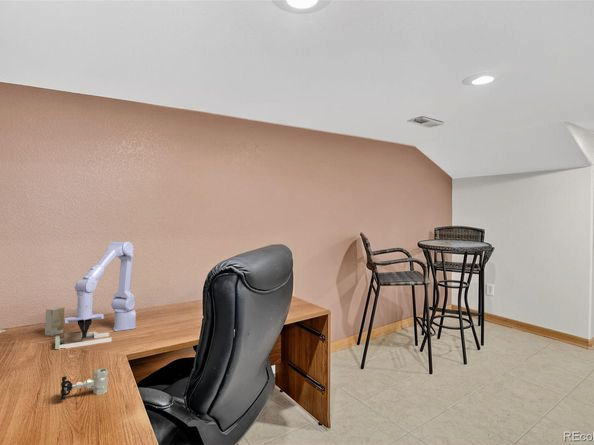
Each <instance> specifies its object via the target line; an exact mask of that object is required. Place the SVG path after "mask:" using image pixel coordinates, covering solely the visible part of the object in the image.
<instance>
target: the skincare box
mask: <svg viewBox="0 0 594 445" xmlns="http://www.w3.org/2000/svg"><path fill="white" fill-rule="evenodd" d="M44 324H45V325H44V326H45V328H44V336H49V337H53V336H58V335H60V334H63V333H64V325H65V307H64V306H63V307H62V306H56V307H50V308H46V309H45V323H44Z"/></svg>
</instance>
